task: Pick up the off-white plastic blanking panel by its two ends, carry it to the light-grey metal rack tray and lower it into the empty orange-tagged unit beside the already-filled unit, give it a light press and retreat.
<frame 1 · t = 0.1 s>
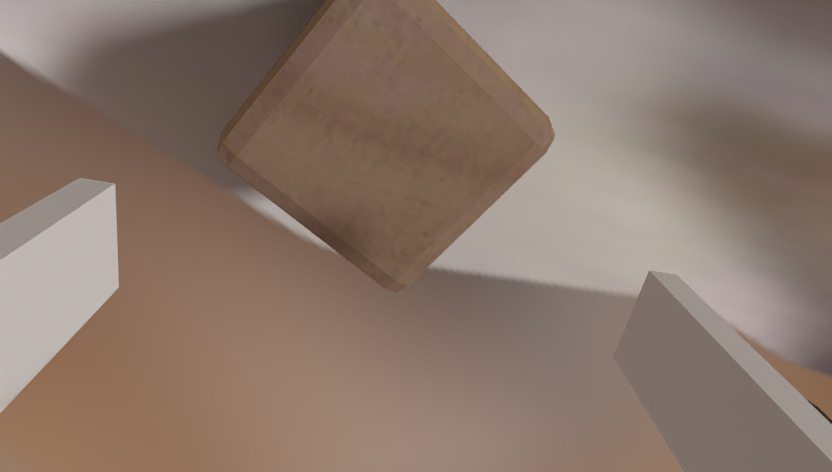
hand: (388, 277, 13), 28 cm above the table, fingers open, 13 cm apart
block: (388, 77, 38), on the table
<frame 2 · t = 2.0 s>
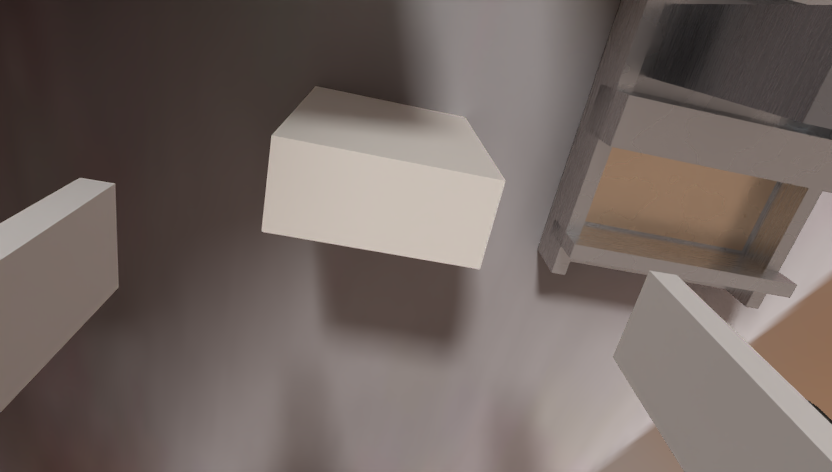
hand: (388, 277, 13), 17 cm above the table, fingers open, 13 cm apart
panel: (385, 134, 28), on the table
rack: (688, 140, 29), on the table
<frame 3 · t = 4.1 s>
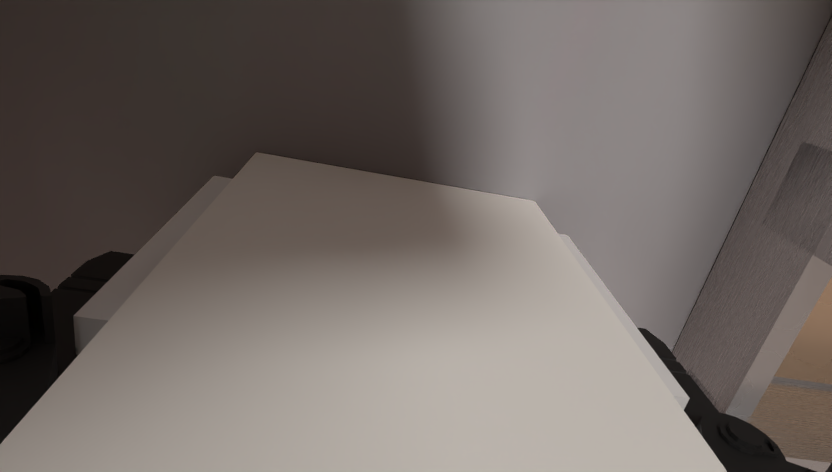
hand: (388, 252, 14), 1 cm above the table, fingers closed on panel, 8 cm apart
panel: (389, 232, 16), on the table, touching gripper
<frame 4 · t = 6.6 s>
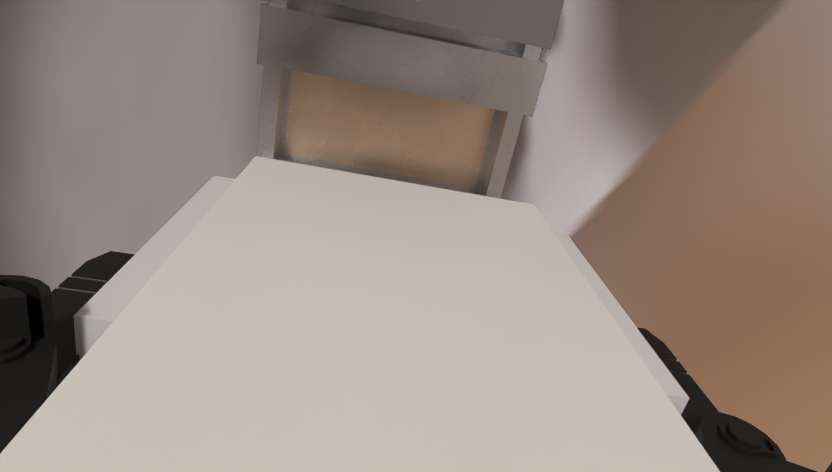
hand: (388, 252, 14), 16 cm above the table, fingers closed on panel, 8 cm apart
panel: (388, 236, 16), point 15 cm above the table, touching gripper
rack: (399, 68, 28), on the table
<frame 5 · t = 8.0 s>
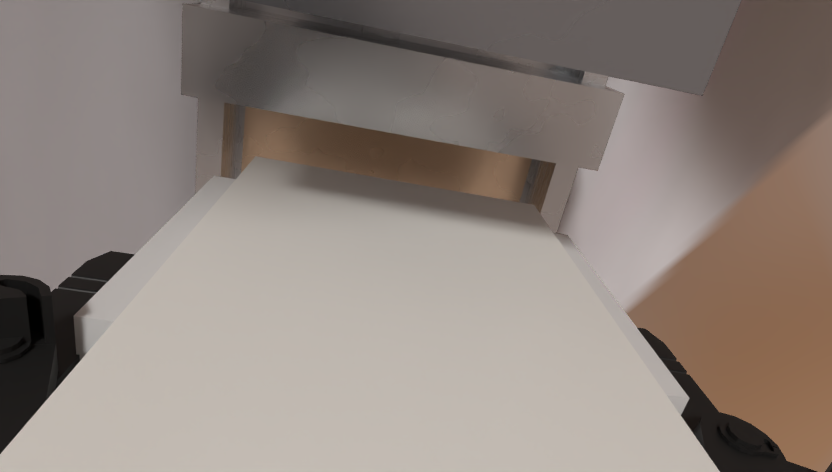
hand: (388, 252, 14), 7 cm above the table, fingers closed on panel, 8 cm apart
panel: (388, 236, 16), point 6 cm above the table, touching gripper
rack: (399, 93, 20), on the table
when the fingers open (4 cm above the table, at t = 9.1 s): panel drops 1 cm, resting on rack.
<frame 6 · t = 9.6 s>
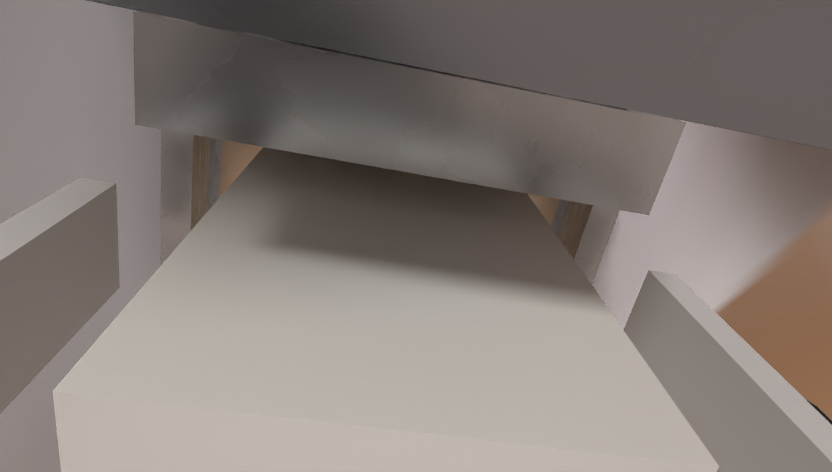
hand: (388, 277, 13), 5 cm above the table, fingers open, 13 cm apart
panel: (388, 217, 17), point 1 cm above the table, touching rack
rack: (405, 116, 17), on the table
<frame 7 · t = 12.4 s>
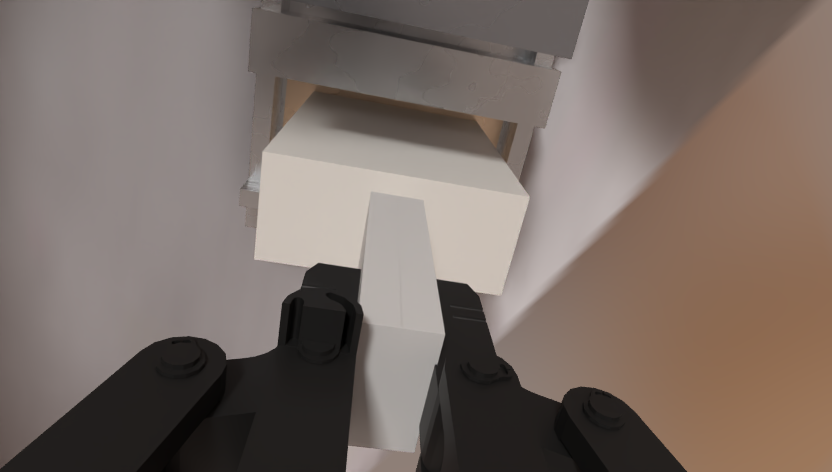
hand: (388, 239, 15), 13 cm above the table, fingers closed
panel: (390, 141, 26), point 1 cm above the table, touching rack
rack: (401, 75, 26), on the table
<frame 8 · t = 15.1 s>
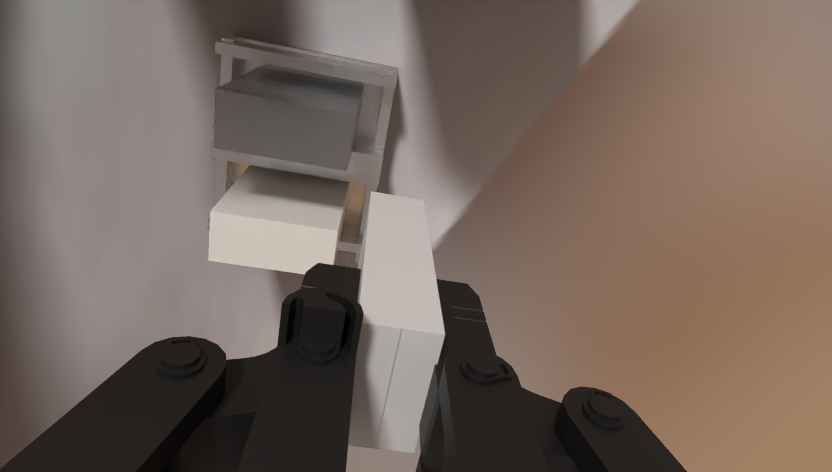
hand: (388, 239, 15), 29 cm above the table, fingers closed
panel: (299, 189, 44), point 1 cm above the table, touching rack
rack: (305, 151, 44), on the table
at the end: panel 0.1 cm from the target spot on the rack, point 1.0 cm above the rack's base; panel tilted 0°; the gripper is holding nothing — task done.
